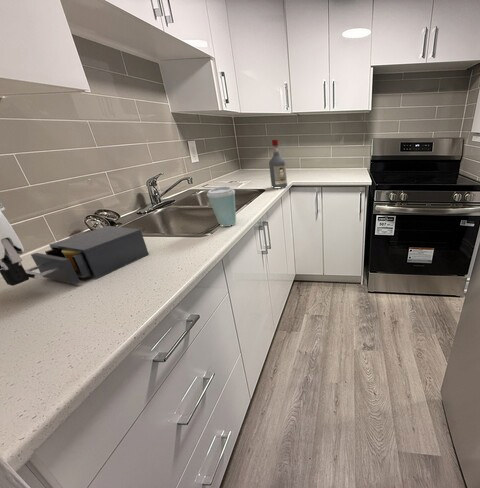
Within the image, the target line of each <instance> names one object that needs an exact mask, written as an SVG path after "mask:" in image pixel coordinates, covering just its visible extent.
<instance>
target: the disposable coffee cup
mask: <svg viewBox="0 0 480 488" xmlns="http://www.w3.org/2000/svg"><path fill="white" fill-rule="evenodd" d="M235 193H236V191H235V189H234V188H233V186H228V185H227V186H225V185H224V186H217V187H214V188H211V189H209V190H208V191H207V193H206V197H207V199H208V201H209V204H210V206H211V208H212V211H213V213H214V216H215V218H216V220H217V223H218V225H219V224H220V225H223V226H229V227H232V226H234V225H236V222H237V213H236V196H235V195H236V194H235ZM220 225H219V226H220ZM231 225H232V226H231Z"/></svg>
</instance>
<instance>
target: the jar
mask: <svg viewBox="0 0 480 488" xmlns="http://www.w3.org/2000/svg"><path fill="white" fill-rule="evenodd" d="M61 251H62V253H63V254H64V256H65V258H68V259H70V262H71V264H72V266H73V268H74V270H78V268H77V266H76V264H75V262H74V260H73V258H72V256H74V255H77V254H80V253H82V252H78V251H72V250H66V249H62V250H61Z"/></svg>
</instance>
